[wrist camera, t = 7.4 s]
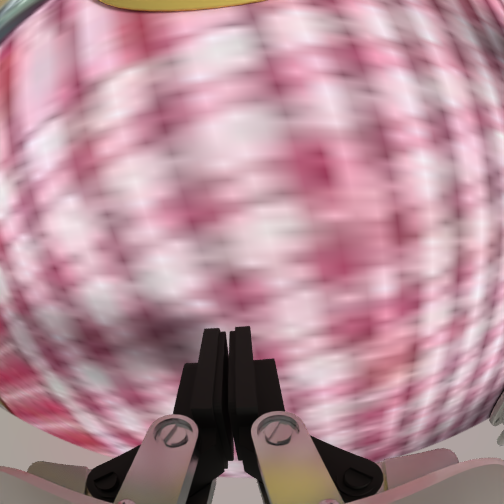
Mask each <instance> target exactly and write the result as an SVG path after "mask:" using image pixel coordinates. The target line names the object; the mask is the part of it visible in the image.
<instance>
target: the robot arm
mask: <svg viewBox="0 0 504 504" xmlns="http://www.w3.org/2000/svg"><path fill="white" fill-rule="evenodd" d="M490 422H491V424H492V425H493V426H497V425H499V424H501V423H503V424H504V392H503V393H502V395H501V396H500V398H499V400H498V401H497V403H496V405H495V407H494V408H493V410H492V413H491V415H490ZM233 437H234V442H235V447H236V452H237V456H238V460H243V465H244V470H245V472H246V473H248V474H249V475H251V476H253V477H254V478H256V479H257V483H258V486H259V490H260V493H261V496H262V500H263V503H264V504H504V460H501V459H499V458H479V459H473V460H468V461H464V462H460V463H459V461H458V458H457V456H456V455H455V453H453V452H452V451H451V450H448V449H444V448H442V449H435V450H431V451H426V452H422V453H417V454H413V455H407V456H402V457H396V458H389V459H384V461H383V462H378V463H374V462H372V461H370V460H368V459H365V458H363V457H360V456H357V455H355V454H352V453H350V452H347V451H345V450H342V449H340V448H337V447H335V446H333V445H330V444H328V443H326V442H323V441H321V440H319V439H317V438H315V437H312V436H310V435H309V432H308V430H307V428H306V426H305V424H304V423H303V421H302V420H301V419H300V418H299V417H298V416H296V415H295V414H292V413H289V412H285V409H284V404H283V399H282V394H281V389H280V384H279V379H278V374H277V369H276V365H275V360H274V359H263V360H253V353H252V342H251V331H250V326H244V327H235V331H230V339H229V354H228V347H227V339H226V332H220V329H219V328H210V329H204V333H203V338H202V344H201V349H200V355H199V360H198V363H186V364H185V365H184V368H183V372H182V376H181V380H180V385H179V389H178V393H177V398H176V402H175V407H174V411H173V414H172V415H166V416H163V417H161V418H158V419H157V420H156V421H154V422H153V423H152V425H151V426H150V427H149V429H148V431H147V434H146V436H145V438H144V440H143V442H142V444H141V445H139V446H137V447H135V448H133V449H131V450H130V451H128V452H126V453H124V454H122V455H120V456H118V457H116V458H114V459H112V460H110V461H107V462H105V463H103V464H101V465H99V466H97V467H95V468H94V469H92V470H90V469H88V468H87V467H84V466H83V467H82V466H73V465H63V464H56V463H50V462H44V461H40V462H39V461H38V462H35V463H33V464H32V465H31V466H30V467H29V469H28V471H27V472H24V471H22V470H18V469H15V468H10V467H5V466H0V504H211V503H212V499H213V494H214V490H215V486H216V478H217V477H218V476H219V475H221V474H222V473H223V472H224V469H228V461H233V460H234V445H233ZM497 443H498V445H500V446H503V445H504V430H503V431H502V433H501V434H500V436H499V437H498V439H497Z"/></svg>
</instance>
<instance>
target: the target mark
mask: <svg viewBox="0 0 504 504" xmlns="http://www.w3.org/2000/svg"><path fill="white" fill-rule="evenodd" d="M99 1H101V2H103V3H105V4H107V5H110V6H114V7H117V8H122V9H129V10H137V11H187V10H201V9H212V8H221V7H228V6H237V5H243V4H249V3H255V2H261V1H266V0H99Z"/></svg>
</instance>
